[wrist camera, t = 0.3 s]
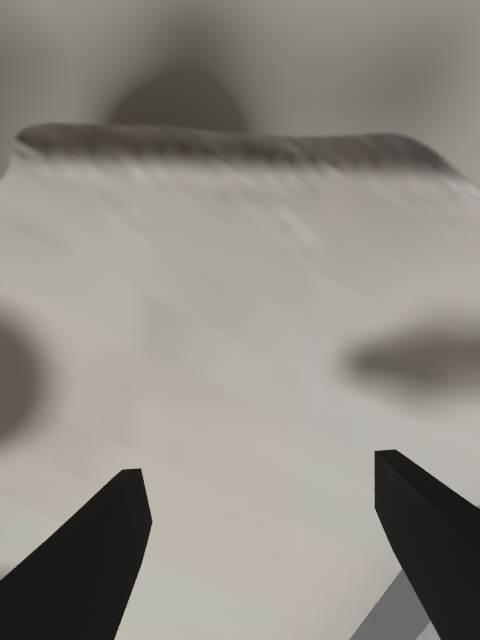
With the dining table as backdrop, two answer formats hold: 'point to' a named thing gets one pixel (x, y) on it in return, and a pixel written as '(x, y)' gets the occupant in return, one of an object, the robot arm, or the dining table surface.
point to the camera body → (397, 616)
